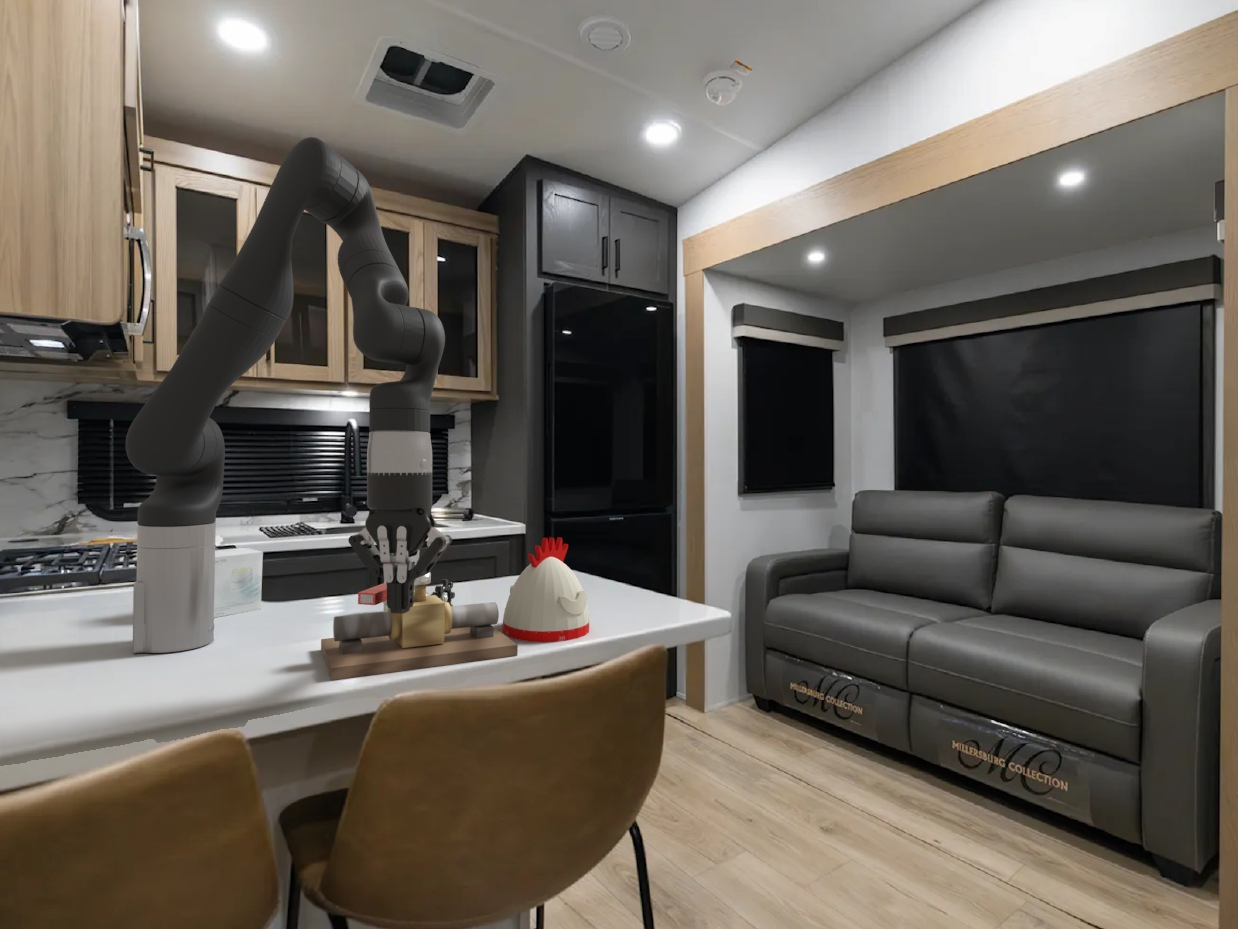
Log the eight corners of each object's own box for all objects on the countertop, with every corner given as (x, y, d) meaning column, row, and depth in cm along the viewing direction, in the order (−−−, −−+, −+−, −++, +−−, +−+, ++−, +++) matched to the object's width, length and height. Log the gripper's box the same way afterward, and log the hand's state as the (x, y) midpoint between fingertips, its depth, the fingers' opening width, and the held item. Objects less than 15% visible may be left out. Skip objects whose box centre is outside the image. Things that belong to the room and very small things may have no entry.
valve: (372, 617, 111) (437, 622, 109) (372, 578, 111) (438, 582, 109) (392, 608, 118) (454, 613, 116) (393, 572, 118) (455, 576, 116)
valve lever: (415, 580, 94) (415, 570, 94) (434, 581, 93) (434, 571, 93) (355, 604, 78) (355, 592, 78) (377, 605, 78) (377, 593, 78)
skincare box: (199, 621, 106) (200, 557, 106) (179, 615, 109) (180, 553, 109) (263, 609, 115) (264, 550, 115) (242, 604, 118) (244, 546, 118)
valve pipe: (331, 680, 80) (332, 602, 80) (321, 649, 92) (322, 582, 92) (517, 655, 92) (518, 587, 92) (486, 631, 104) (487, 571, 104)
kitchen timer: (606, 630, 107) (608, 538, 107) (545, 648, 96) (548, 545, 96) (546, 615, 115) (548, 530, 115) (484, 630, 105) (486, 536, 105)
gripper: (464, 469, 82) (464, 607, 82) (367, 469, 84) (367, 603, 84) (437, 470, 75) (437, 622, 75) (332, 469, 77) (332, 617, 77)
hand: (400, 612), depth 80 cm, fingers closed
